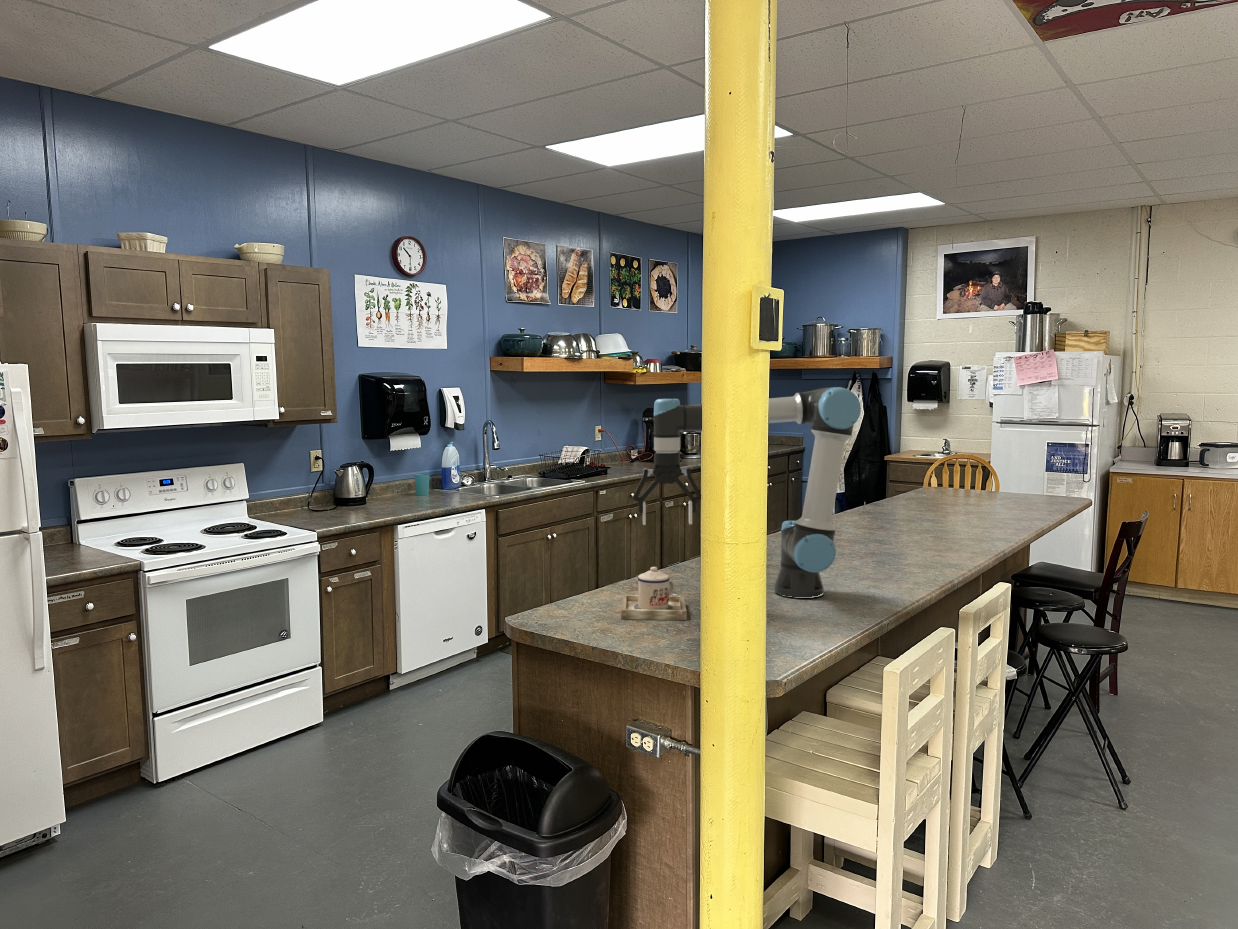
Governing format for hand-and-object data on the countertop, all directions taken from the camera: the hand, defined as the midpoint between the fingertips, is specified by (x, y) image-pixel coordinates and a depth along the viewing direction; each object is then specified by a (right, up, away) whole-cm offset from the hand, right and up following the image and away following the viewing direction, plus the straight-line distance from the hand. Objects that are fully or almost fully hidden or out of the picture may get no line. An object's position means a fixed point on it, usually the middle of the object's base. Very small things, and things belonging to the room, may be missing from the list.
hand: (667, 524), depth 242 cm
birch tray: (-4, -25, -6) cm, 26 cm away
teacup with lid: (-3, -23, -6) cm, 24 cm away
